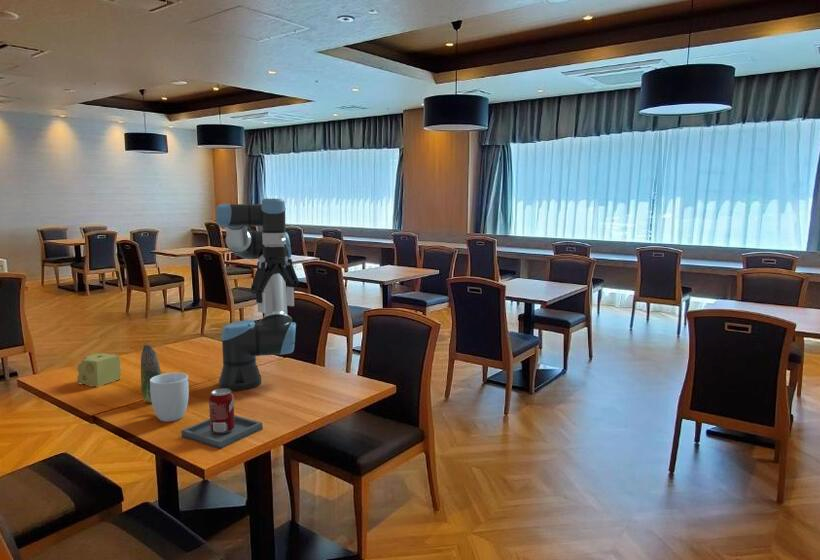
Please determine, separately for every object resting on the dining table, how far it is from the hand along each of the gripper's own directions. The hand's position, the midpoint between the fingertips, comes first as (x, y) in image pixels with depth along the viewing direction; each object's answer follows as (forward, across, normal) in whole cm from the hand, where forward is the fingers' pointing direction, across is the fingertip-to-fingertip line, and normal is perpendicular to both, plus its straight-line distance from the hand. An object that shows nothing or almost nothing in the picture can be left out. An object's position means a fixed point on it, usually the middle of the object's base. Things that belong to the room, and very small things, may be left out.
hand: (276, 309), depth 188 cm
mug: (+32, -29, +19) cm, 47 cm away
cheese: (+32, -20, +71) cm, 80 cm away
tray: (+32, -29, -5) cm, 43 cm away
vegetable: (+32, -23, +36) cm, 53 cm away
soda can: (+31, -29, -5) cm, 43 cm away
